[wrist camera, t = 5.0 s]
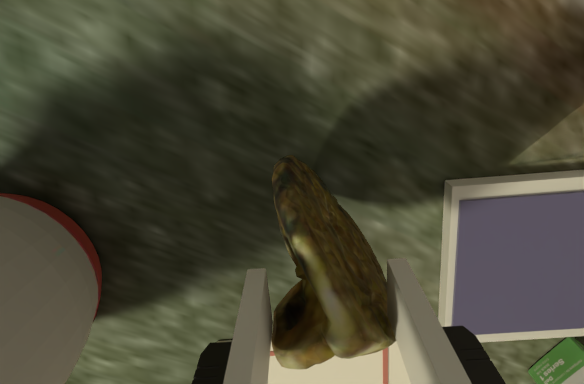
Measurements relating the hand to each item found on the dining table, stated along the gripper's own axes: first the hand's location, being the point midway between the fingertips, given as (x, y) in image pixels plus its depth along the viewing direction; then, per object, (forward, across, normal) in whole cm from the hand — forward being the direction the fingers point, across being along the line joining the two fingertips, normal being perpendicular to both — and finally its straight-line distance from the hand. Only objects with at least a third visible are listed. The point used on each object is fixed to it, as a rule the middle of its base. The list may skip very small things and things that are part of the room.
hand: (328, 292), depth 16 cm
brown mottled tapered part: (+12, 0, 0) cm, 12 cm away
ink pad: (+12, +16, -6) cm, 21 cm away
